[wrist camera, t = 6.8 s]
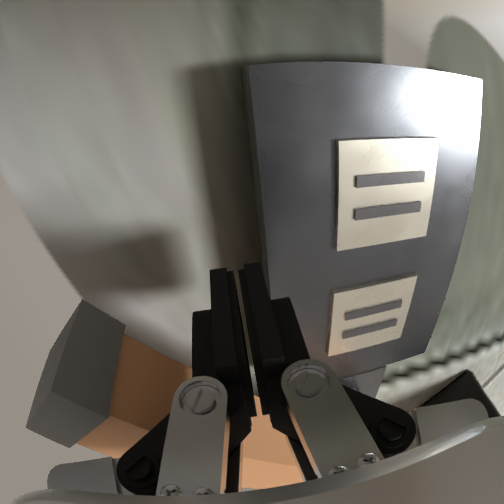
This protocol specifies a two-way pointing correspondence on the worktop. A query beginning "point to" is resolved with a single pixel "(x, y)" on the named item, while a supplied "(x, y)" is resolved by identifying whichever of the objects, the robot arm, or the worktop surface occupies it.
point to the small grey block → (365, 381)
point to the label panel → (361, 199)
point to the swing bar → (131, 398)
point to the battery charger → (465, 393)
